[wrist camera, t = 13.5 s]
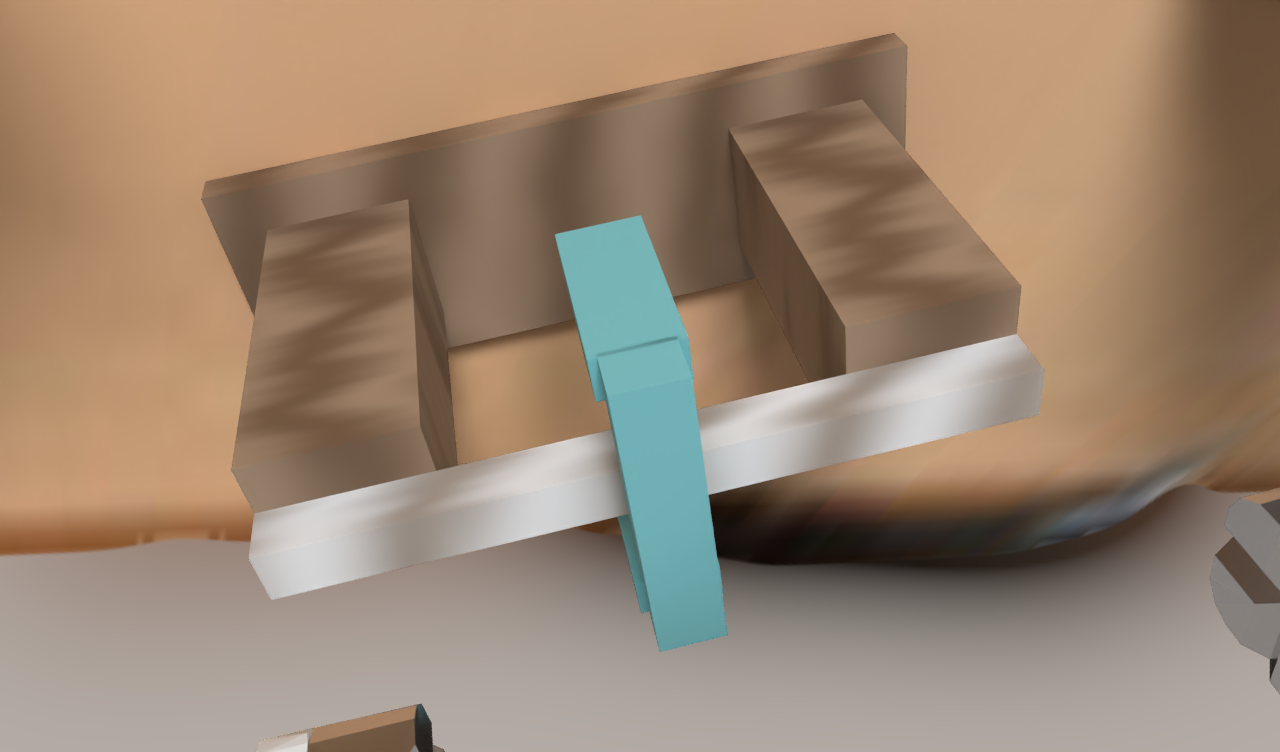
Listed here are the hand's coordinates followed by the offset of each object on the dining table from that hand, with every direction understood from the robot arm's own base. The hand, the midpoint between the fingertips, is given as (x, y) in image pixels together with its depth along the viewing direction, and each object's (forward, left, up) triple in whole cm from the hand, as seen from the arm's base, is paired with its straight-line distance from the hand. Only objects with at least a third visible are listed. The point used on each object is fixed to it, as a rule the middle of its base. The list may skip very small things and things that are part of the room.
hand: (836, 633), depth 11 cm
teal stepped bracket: (0, +16, -26) cm, 30 cm away
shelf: (0, +16, -37) cm, 40 cm away
